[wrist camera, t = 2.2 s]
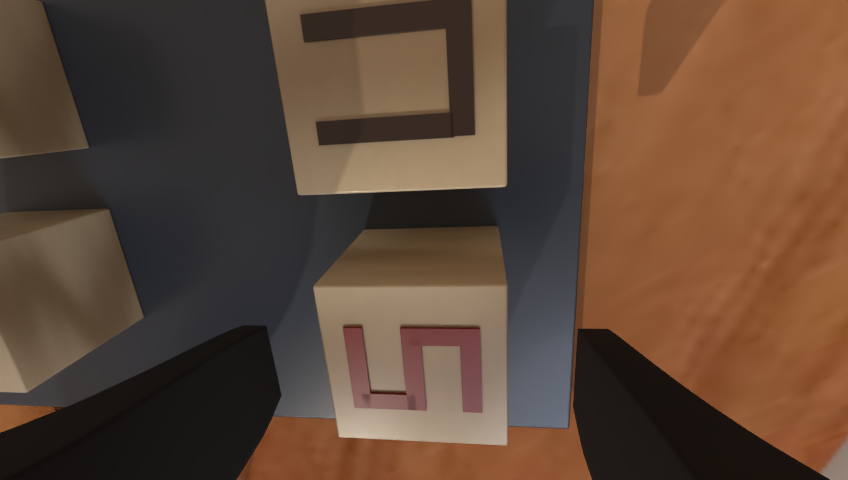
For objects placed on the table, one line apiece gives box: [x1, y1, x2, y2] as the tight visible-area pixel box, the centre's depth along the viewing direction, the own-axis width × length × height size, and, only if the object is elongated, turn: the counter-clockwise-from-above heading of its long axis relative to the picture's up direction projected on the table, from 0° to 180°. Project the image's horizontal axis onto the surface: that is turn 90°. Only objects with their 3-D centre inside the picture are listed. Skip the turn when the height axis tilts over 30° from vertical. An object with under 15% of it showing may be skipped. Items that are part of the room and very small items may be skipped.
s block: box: [313, 226, 508, 445], centre depth 11 cm, size 4×4×4 cm
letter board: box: [0, 0, 594, 429], centre depth 11 cm, size 22×24×5 cm
